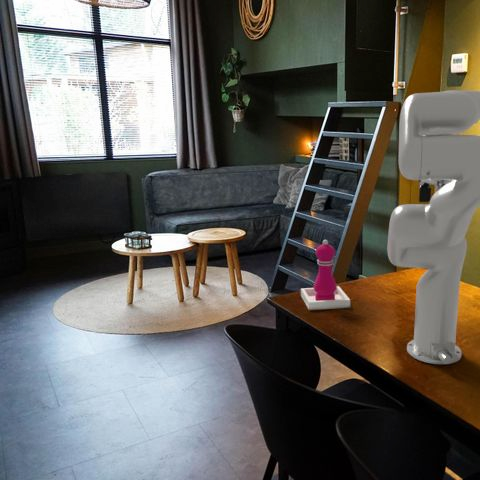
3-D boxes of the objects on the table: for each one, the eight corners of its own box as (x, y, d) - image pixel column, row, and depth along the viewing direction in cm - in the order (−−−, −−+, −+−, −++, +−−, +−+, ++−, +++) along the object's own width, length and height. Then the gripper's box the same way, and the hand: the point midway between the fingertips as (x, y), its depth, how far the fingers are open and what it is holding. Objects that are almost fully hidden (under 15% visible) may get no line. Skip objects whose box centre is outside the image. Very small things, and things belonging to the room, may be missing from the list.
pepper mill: (335, 295, 161) (336, 236, 156) (337, 304, 154) (338, 242, 149) (313, 295, 162) (313, 237, 157) (314, 303, 155) (314, 242, 150)
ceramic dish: (350, 307, 152) (350, 299, 152) (308, 310, 152) (308, 302, 151) (338, 293, 165) (339, 286, 164) (300, 295, 164) (300, 288, 164)
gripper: (466, 142, 123) (461, 209, 127) (434, 139, 140) (431, 199, 144) (437, 143, 123) (433, 210, 127) (409, 140, 140) (406, 200, 144)
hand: (432, 204), depth 136 cm, fingers open, 9 cm apart
